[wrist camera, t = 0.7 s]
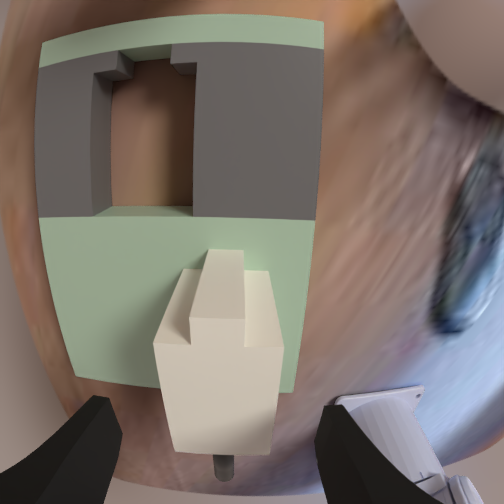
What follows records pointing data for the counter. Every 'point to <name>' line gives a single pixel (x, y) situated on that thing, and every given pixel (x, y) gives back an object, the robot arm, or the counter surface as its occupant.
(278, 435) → the counter surface
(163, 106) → the counter surface
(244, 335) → the plug
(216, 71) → the board
